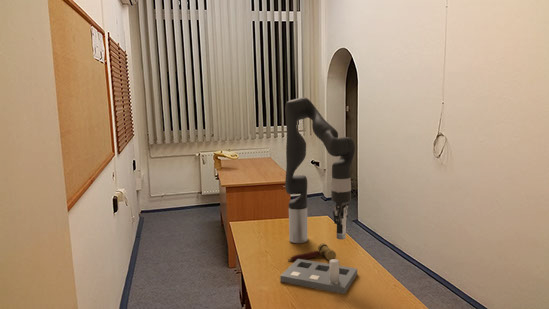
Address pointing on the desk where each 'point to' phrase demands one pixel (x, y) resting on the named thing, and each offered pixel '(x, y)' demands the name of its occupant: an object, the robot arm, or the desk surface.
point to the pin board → (320, 275)
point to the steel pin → (343, 235)
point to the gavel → (316, 253)
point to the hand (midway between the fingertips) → (341, 231)
